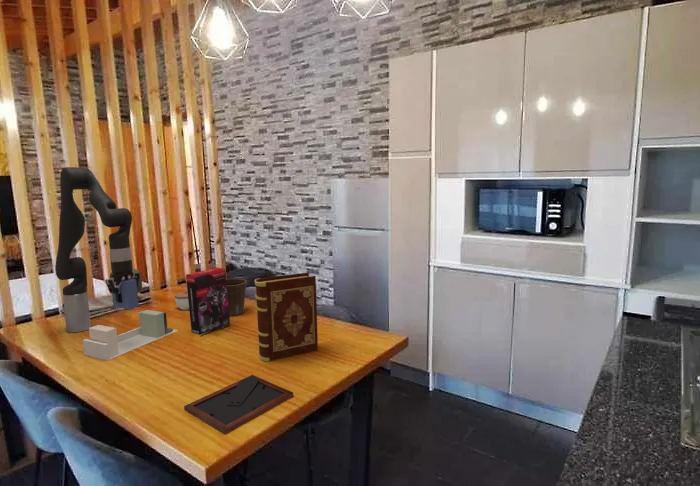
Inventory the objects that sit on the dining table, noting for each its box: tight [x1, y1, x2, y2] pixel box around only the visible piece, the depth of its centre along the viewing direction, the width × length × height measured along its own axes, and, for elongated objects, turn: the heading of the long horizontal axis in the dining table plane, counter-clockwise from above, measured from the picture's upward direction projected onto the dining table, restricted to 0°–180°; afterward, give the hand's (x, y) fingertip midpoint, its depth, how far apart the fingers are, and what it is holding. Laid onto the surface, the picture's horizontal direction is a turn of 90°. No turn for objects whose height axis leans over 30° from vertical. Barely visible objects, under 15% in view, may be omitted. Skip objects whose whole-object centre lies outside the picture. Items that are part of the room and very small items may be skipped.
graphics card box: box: [185, 267, 231, 337], centre depth 187 cm, size 17×7×27 cm, turn 147°
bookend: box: [151, 309, 174, 333], centre depth 185 cm, size 9×4×9 cm, turn 65°
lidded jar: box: [174, 290, 189, 311], centre depth 223 cm, size 11×11×9 cm
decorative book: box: [254, 272, 319, 362], centre depth 161 cm, size 22×8×30 cm, turn 117°
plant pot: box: [226, 278, 248, 317], centre depth 213 cm, size 16×16×16 cm
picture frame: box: [183, 374, 294, 435], centre depth 127 cm, size 20×2×25 cm
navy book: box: [111, 279, 140, 310], centre depth 168 cm, size 9×4×11 cm, turn 65°
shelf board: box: [82, 326, 179, 361], centre depth 174 cm, size 13×34×7 cm, turn 155°
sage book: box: [138, 309, 165, 339], centre depth 181 cm, size 10×4×10 cm, turn 65°
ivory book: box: [88, 324, 119, 358], centre depth 161 cm, size 10×4×10 cm, turn 65°
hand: (125, 300), depth 169 cm, fingers closed on navy book, 4 cm apart
